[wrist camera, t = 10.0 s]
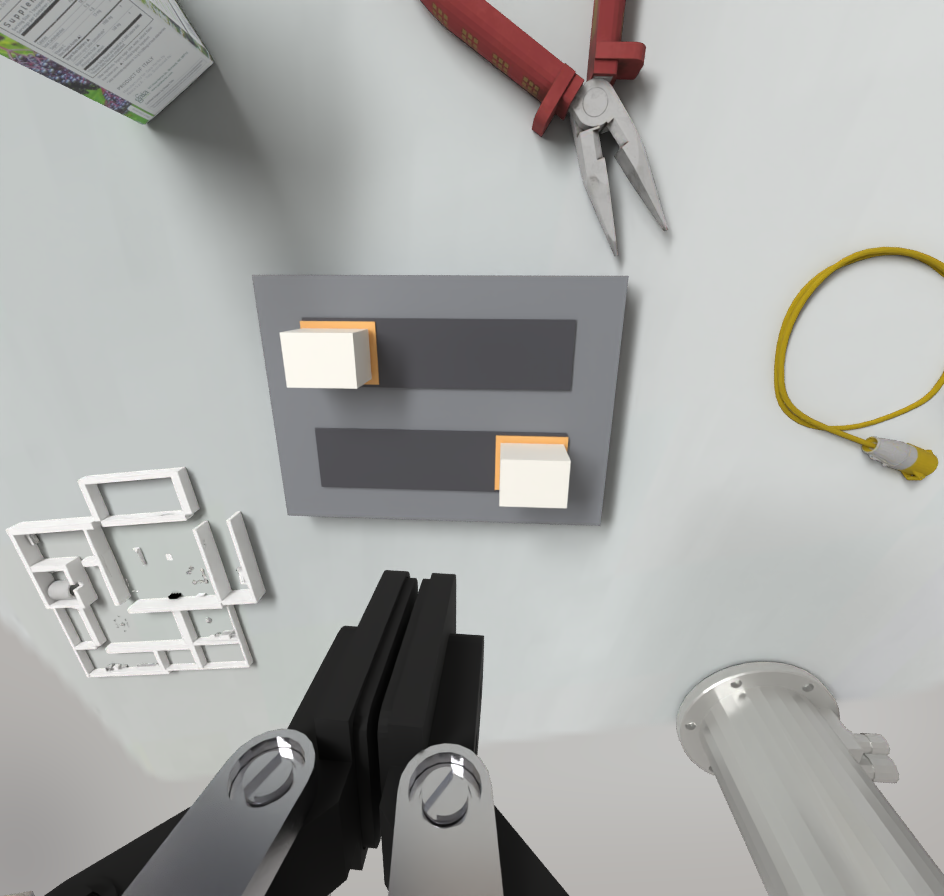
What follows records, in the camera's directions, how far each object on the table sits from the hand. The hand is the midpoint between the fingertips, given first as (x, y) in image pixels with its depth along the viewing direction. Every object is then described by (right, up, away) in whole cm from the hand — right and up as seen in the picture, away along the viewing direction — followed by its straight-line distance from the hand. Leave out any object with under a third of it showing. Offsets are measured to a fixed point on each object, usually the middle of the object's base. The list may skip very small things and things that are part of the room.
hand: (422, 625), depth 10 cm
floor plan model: (-26, -4, +26) cm, 37 cm away
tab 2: (+5, +3, +18) cm, 19 cm away
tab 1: (-7, +10, +17) cm, 21 cm away
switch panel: (-1, +7, +20) cm, 21 cm away
